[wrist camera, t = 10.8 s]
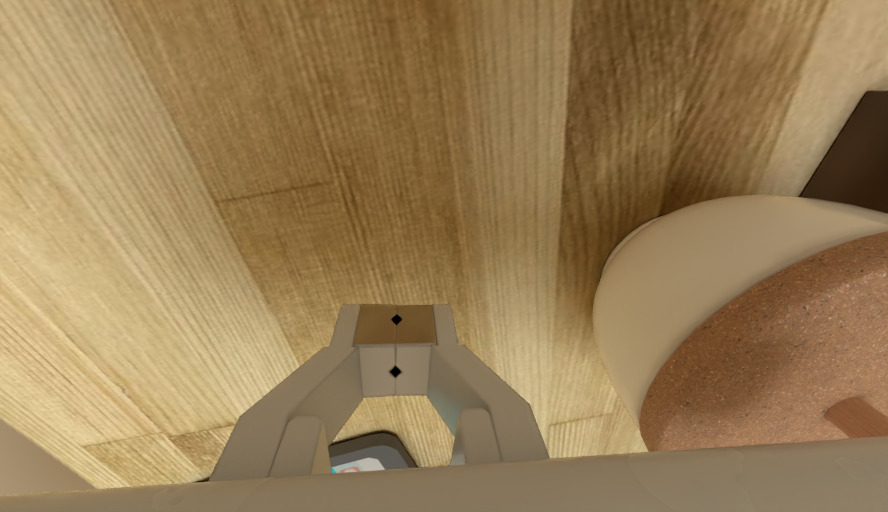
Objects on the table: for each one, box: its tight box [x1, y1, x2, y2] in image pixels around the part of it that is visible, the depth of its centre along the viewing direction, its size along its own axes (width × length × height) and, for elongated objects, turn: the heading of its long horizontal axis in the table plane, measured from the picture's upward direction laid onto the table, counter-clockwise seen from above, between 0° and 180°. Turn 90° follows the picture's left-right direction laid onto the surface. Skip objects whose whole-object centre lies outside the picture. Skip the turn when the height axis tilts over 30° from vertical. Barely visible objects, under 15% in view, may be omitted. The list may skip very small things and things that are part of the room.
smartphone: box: [205, 433, 417, 482], centre depth 22 cm, size 9×1×15 cm
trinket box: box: [593, 194, 888, 452], centre depth 12 cm, size 11×11×9 cm
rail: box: [800, 91, 888, 214], centre depth 16 cm, size 20×3×3 cm, turn 176°
